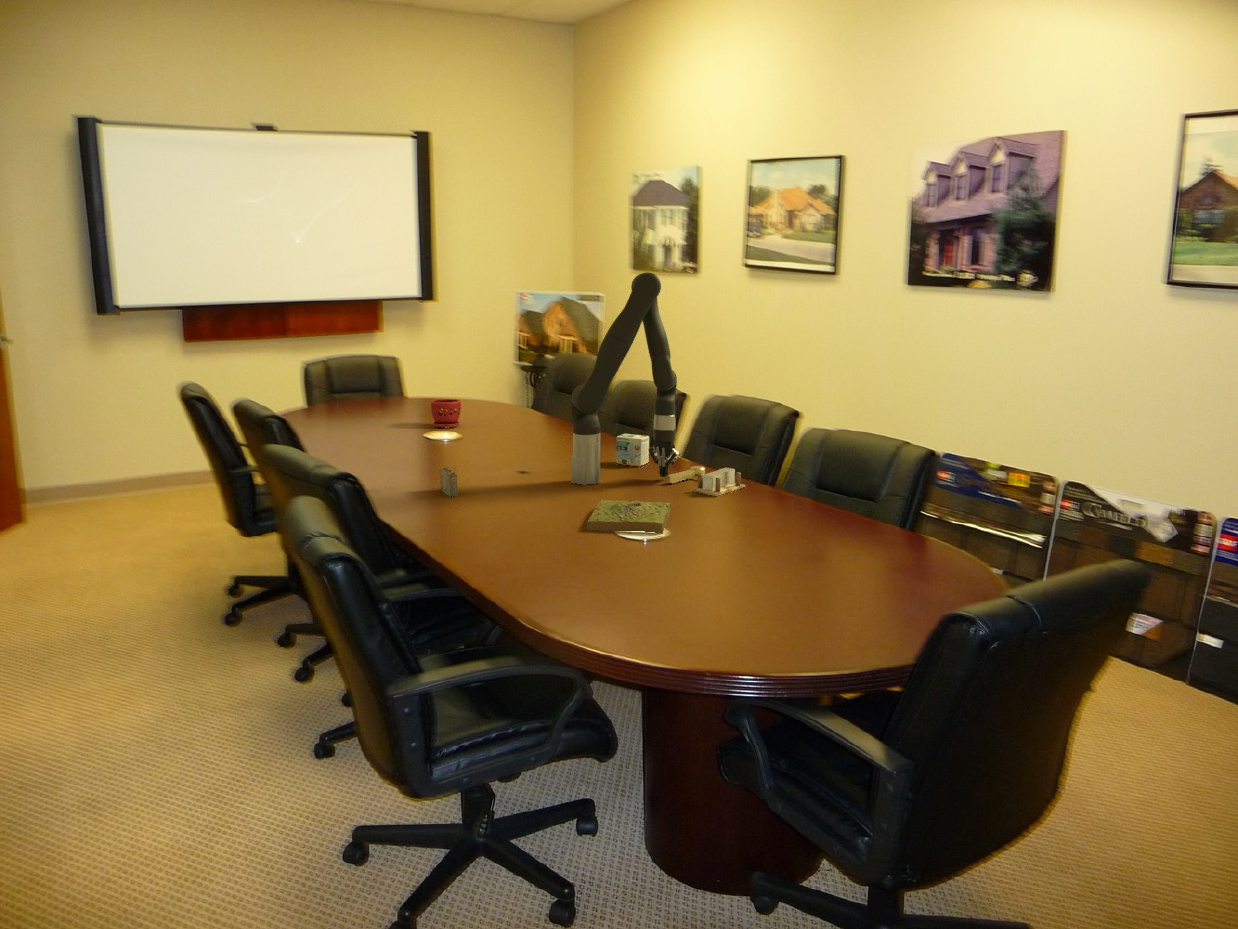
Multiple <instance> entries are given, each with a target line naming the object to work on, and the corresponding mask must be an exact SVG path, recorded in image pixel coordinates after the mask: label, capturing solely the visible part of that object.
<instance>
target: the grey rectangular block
mask: <svg viewBox="0 0 1238 929" xmlns="http://www.w3.org/2000/svg"><path fill="white" fill-rule="evenodd" d="M719 469H720V470H719ZM719 469H717V470H714V471H711V472H709V473H705V474H704V475H703V490H707V491H715V483H716V478H721V481H720V488H723V487H726V486H729V485H732V484H734V483H736V469H735V468H731V467H724V468H719Z"/></svg>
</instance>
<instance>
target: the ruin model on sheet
mask: <svg viewBox="0 0 1238 929" xmlns="http://www.w3.org/2000/svg"><path fill="white" fill-rule="evenodd" d="M458 469H459V468H458V467H457V466H455V467H453V470H451V468H449V467H440V468H439V472H440V476H439V477H440V478H439V479H440V491H441V492H443V493H444V492H445V493H444V494H445V495H446V496H448V497H449V496H450V497H449V498H454V497H453V496H459V495H458V474H456V472H457V471H458ZM451 496H452V497H451Z"/></svg>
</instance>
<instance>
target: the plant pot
mask: <svg viewBox="0 0 1238 929" xmlns="http://www.w3.org/2000/svg"><path fill="white" fill-rule="evenodd" d="M430 407H431V408H430V409H431V417H432V418H433V421H434V422H433V423H432V424H433V426H434V427H435V426H436V427H435V428H438V427H447V428H448V427H454V428H457V427H458V426H460V421H459V419H460V417H461V410H462V401H461V400H459V399H454V398H452V399H451V398H440V399H433V400H431V401H430ZM456 426H457V427H456ZM447 428H446V429H447ZM448 429H449V428H448Z"/></svg>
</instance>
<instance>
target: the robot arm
mask: <svg viewBox="0 0 1238 929" xmlns="http://www.w3.org/2000/svg"><path fill="white" fill-rule="evenodd" d="M630 288H631V292H630V295H629V297H628V299H627V301H626V304H625V306H624V307H623V309H622V310H621V311H620V313H619V314H618V316H617V317H616V318H615V319H614V321H613V323H611V325H610V327H609V328H608V329H607V332H606V334H605V336H604V338H603V340H602V341H601V343H600V346H599V347H598V348H599V349H598V351H597V355H596V360H595V363H594V366H593V369H592V372H591V374H590V376H589V378H588V379H587V381H586V382H585V384H579V385H578V386H576V387H575V388H574V389H573V391H572V393H571V398H570V399H571V400H570V403H571V404H570V409H571V410H570V411H571V424H572V433H573V434H572V455H570V468H571V469H570V481H571V482H570V483H571V484H575V483H577V484H576V485H579V484H582V485H581V486H583V485H584V486H586V485H585V484H594V485H596V484H595V483H598V484H600V483H601V424H600V419H599V410H600V409H601V407H602V405H603V404H604V401H605V398H606V395H607V393H608V391H609V388H610V386H611V384H612V381H613V379H614V378H615V376H616V375H617V373H618V371H619V370H620V367H621V366H622V363H623V362H624V360H625V358H626V356H627V354H628V353H629V351H630V349H631V347H632V345H633V343H634V340H635V339H636V337H637V334H638V333H639V330H640V327H641V325H643V329H644V335H645V339H646V344H647V349H648V354H649V358H650V362H651V373H652V380H653V383H654V386H655V388H656V397H655V399H654V416H653V435H652V436H653V441H654V443H653V446H651V447H649V449H648V451H649V455H651V456H650V457H651V458H652V460H653V462H654V464H657V465H658V466H659V467H658V469H659V470H658V471H659V472H658V473H659V476H660V477H661V478H666V476H667V475H669V466H673V465H674V463H675V462H676V461H677V460H678V459H679V457H680V455H681V452H680V451H677V450H676V445H675V441H676V433H677V432H676V430H677V428H676V426H677V425H676V393H677V385H678V384H677V383H678V379H677V374H676V372H675V371H674V370H673V369H672V363H671V350H670V344H669V340H668V336H667V333H666V330H665V326H664V325H663V321H662V318H661V315H660V311H659V310H660V309H659V306H658V304H659V302H658V296H659V295H660V294H661V293H660V292H661V290H662V283H661V280H660V278H659V277H658V275H656V274H655V273H653V272H642V273H640V274H638V275H636V276H635V277H634V278H633V279H632V281H631V287H630Z"/></svg>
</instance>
